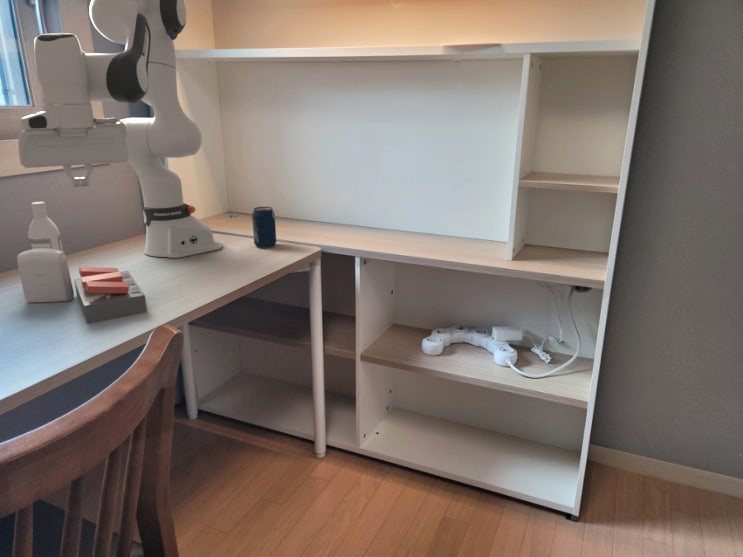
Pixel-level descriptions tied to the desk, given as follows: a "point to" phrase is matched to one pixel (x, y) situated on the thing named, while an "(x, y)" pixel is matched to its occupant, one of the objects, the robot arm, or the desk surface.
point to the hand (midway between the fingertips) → (81, 186)
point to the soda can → (264, 227)
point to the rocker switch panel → (111, 301)
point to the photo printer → (45, 275)
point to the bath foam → (43, 230)
